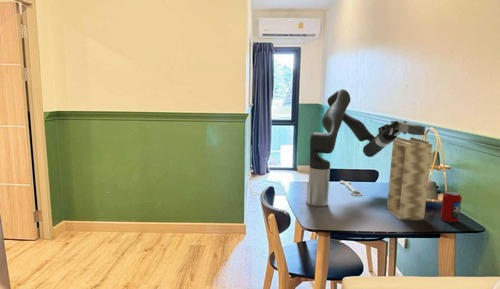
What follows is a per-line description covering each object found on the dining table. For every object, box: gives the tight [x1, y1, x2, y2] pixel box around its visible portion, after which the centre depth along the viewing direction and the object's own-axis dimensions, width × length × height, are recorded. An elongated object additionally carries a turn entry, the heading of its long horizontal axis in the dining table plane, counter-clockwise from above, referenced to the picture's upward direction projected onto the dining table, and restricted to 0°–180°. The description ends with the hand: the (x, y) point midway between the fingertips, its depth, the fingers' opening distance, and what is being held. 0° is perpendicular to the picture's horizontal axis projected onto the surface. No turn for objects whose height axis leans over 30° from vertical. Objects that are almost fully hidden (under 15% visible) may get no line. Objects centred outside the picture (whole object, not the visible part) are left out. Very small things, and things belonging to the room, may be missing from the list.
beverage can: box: [440, 190, 462, 223], centre depth 146 cm, size 7×7×12 cm
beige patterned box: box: [386, 136, 433, 221], centre depth 150 cm, size 10×13×33 cm
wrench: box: [339, 180, 363, 197], centre depth 192 cm, size 28×2×6 cm
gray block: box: [390, 120, 426, 136], centre depth 153 cm, size 5×22×4 cm, turn 3°
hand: (401, 122), depth 157 cm, fingers closed on gray block, 3 cm apart
